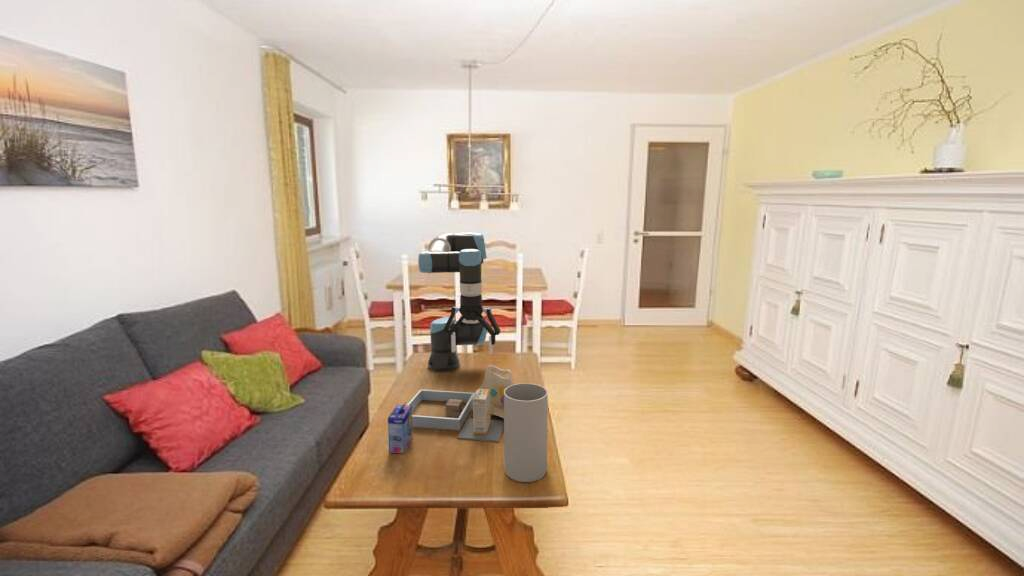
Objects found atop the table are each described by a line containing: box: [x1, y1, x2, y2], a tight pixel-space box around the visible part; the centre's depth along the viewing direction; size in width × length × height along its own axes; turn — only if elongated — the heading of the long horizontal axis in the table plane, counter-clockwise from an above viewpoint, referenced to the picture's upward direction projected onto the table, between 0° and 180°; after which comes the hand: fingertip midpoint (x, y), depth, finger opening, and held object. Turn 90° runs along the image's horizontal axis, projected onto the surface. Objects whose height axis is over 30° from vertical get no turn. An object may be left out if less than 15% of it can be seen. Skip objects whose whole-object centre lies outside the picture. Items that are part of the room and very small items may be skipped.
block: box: [445, 399, 464, 418], centre depth 173 cm, size 5×5×5 cm
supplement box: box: [472, 388, 492, 434], centre depth 160 cm, size 8×5×13 cm, turn 173°
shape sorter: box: [479, 364, 514, 419], centre depth 172 cm, size 20×10×18 cm, turn 47°
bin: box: [406, 389, 476, 431], centre depth 174 cm, size 23×23×4 cm
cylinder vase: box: [503, 382, 549, 483], centre depth 135 cm, size 12×12×25 cm
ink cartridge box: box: [387, 402, 413, 454], centre depth 150 cm, size 10×6×14 cm, turn 177°
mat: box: [457, 417, 504, 443], centre depth 161 cm, size 14×14×1 cm
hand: (472, 352), depth 165 cm, fingers open, 13 cm apart
